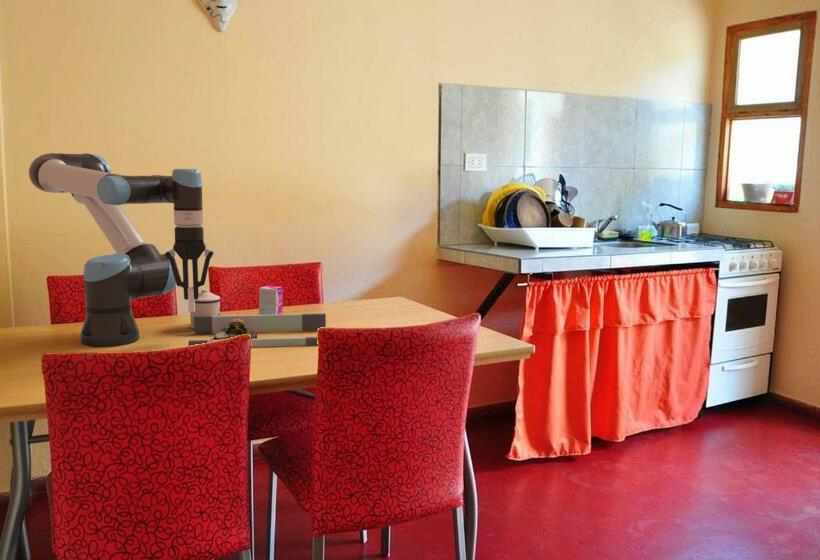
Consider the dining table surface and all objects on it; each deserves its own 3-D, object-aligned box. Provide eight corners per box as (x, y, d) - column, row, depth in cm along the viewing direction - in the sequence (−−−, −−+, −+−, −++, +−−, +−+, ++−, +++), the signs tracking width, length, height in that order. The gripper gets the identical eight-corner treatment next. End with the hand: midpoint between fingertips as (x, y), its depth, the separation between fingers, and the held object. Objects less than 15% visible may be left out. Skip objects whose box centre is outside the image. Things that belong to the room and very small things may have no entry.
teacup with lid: (225, 328, 216) (224, 290, 214) (195, 331, 211) (193, 292, 210) (212, 320, 226) (211, 284, 224) (183, 323, 221) (182, 286, 220)
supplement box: (276, 325, 221) (276, 289, 220) (258, 324, 223) (257, 288, 221) (283, 321, 227) (283, 286, 225) (265, 320, 228) (265, 285, 226)
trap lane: (188, 348, 192) (188, 330, 191) (194, 332, 210) (194, 316, 209) (331, 344, 200) (331, 327, 199) (325, 329, 218) (325, 313, 217)
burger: (205, 342, 200) (204, 316, 199) (231, 333, 211) (230, 308, 210) (241, 347, 196) (240, 320, 195) (265, 338, 207) (265, 312, 205)
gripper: (161, 227, 191) (165, 314, 195) (212, 226, 194) (215, 312, 197) (165, 225, 198) (168, 309, 202) (214, 224, 201) (216, 307, 204)
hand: (191, 310), depth 200 cm, fingers closed
